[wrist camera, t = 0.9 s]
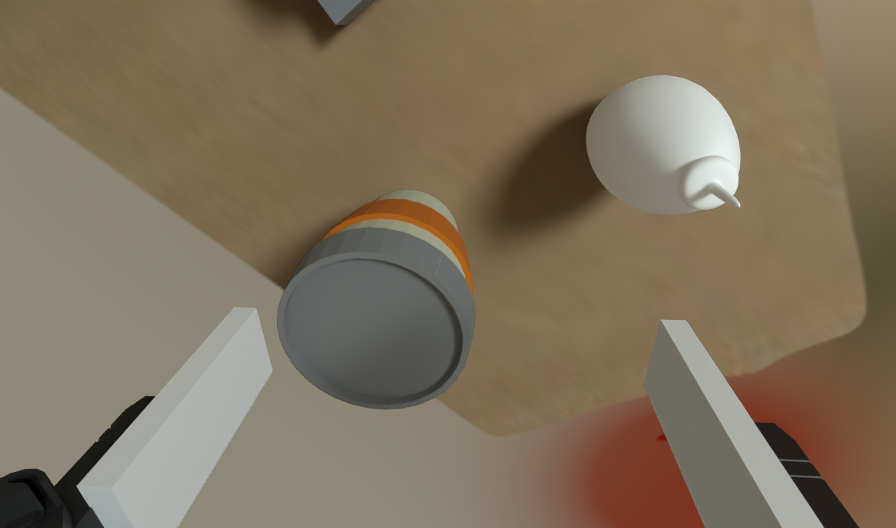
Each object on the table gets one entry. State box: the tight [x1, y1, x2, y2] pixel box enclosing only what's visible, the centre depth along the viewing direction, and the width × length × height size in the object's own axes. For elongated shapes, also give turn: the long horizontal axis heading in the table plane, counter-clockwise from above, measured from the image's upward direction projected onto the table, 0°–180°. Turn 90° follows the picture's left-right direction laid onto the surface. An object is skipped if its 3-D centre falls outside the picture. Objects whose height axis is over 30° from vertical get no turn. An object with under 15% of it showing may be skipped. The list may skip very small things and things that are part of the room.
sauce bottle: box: [586, 75, 740, 215], centre depth 27 cm, size 8×8×18 cm
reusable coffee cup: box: [277, 190, 476, 409], centre depth 34 cm, size 13×13×15 cm
